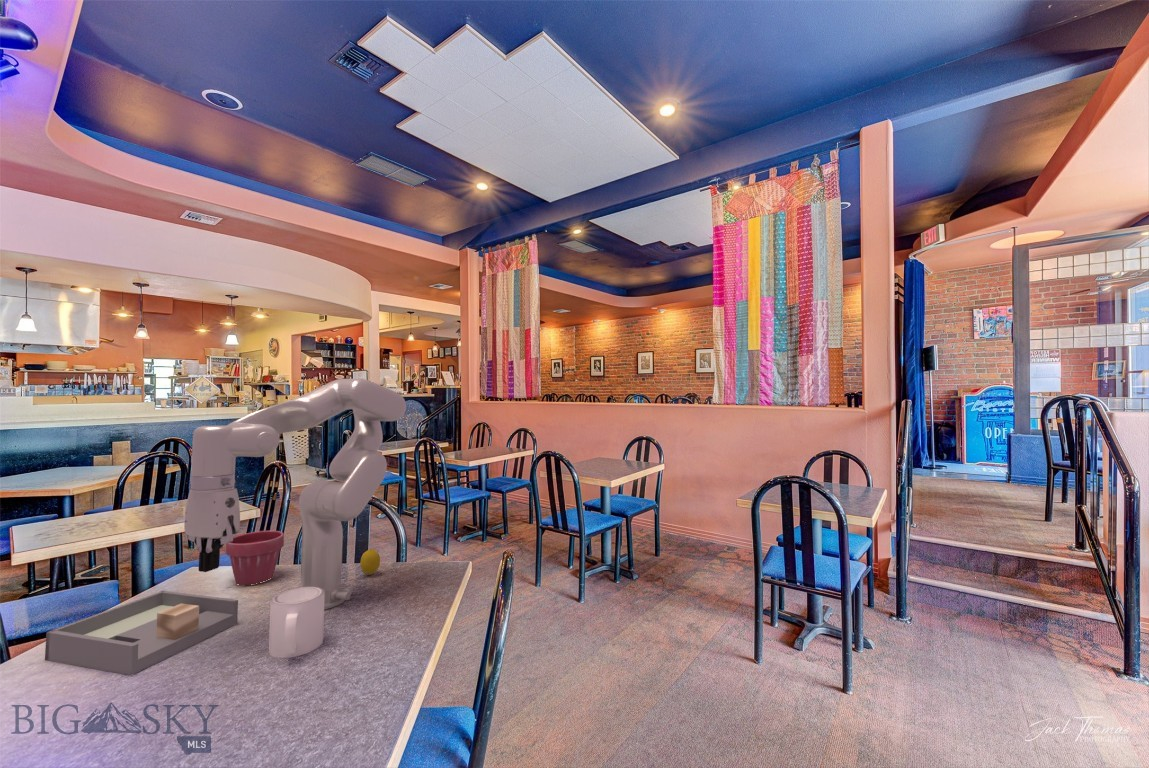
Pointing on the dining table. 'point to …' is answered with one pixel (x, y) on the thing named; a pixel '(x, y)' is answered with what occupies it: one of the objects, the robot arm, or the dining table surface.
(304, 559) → the robot arm
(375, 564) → the lemon
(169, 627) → the maple block
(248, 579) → the plant pot
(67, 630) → the box
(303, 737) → the dining table surface
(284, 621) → the mug
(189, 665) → the dining table surface
